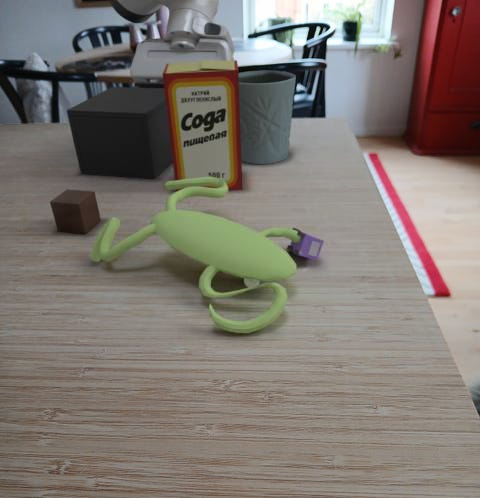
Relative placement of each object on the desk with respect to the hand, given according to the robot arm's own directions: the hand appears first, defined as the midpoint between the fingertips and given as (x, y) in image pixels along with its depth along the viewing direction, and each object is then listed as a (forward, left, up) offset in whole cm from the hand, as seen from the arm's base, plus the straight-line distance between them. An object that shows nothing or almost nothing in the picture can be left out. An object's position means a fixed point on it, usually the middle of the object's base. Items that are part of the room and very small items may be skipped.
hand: (175, 105), depth 97 cm
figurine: (+22, -48, -4) cm, 53 cm away
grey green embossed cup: (+20, -13, -4) cm, 24 cm away
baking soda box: (+15, -26, -4) cm, 30 cm away
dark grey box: (0, -19, -4) cm, 19 cm away
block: (+3, -43, -4) cm, 43 cm away
